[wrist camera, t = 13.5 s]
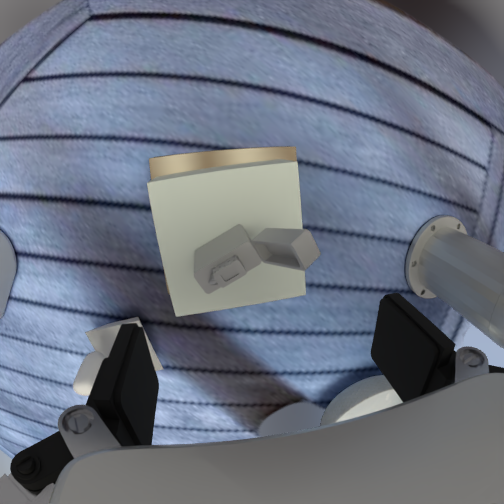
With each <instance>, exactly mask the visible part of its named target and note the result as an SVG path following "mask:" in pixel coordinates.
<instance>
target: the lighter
mask: <svg viewBox="0 0 504 504" xmlns="http://www.w3.org/2000/svg"><path fill="white" fill-rule="evenodd" d="M320 254H321V253H320V251H319V249H318V247H317V245H316V243H315V241H314V239H313V237H312V235H311V233H310V231H308V230H307V229H287V228H265V229H264V230H263V231H262V232H260V233H259V234H258V235H257V236H256V237H254V238H253V239H252V240H251V239H250V237H249V236H248V234H247V232H246V231H245V229H244V227H243V226H242V225H241V224H238V225H236V226H234V227H233V228H231V229H229V230H228V231H226V232H224V233H223V234H221V235H219V236H218V237H216V238H214V239H213V240H211V241H209V242H208V243H206V244H204V245H203V246H201V247H200V248H198V249H196V250H195V255H194V278H195V279H196V281H197V282H198V283H199V285H200V286H201V288H202V289H203V290H204V292H205V293H207V294H210V293H212V292H214V291H215V290H217V289H219V288H221V287H222V288H224V287H226V286H227V285H229V284H231V283H232V282H234V281H236V280H238V279H239V278H241V277H243V276H244V275H246V273H247V272H248V271H250V270H251V269H253V268H255V267H256V266H258V265H260V264H261V261H263V262H264V263H266V264H271V265H276V266H281V267H286V268H291V269H296V270H301V271H305V270H306V269H307V268H308V267H309V266H310V265H311V264H312V263H313V262H314V261H315V260H316V259H317V258H318V257H319V256H320Z"/></svg>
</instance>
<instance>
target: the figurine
mask: <svg viewBox="0 0 504 504" xmlns="http://www.w3.org/2000/svg"><path fill="white" fill-rule="evenodd" d="M127 323H137V325H138V327H143V326H142V324H141V322H140V320H139V317H135V318H131V319H126V320H122V321H118V322H113V323H109V324H106V325H103V326H101V327H98V328H95V329H93V330H90V331H88V332H85V333H86V335H87V337H88V338H89V340H90V342H91V344H92V346H93V347H94V349H95V351H94V352H91V353H89V354H88V355H87V356H86V357H85V359H84V360H83V362H82V364H81V366H80V369H79V371H78V373H77V376H76V378H75V380H74V383H73V388H74V391H75V392H76V393H78V394H79V395H84V396H87V395H90V392H91V389H92V387H93V384H94V381H95V379H96V376H97V374H98V371H99V368H100V366H101V363H102V361H103V359H104V358H108V356H109V354H110V351H111V349H112V346H113V344H114V341H115V339H116V336H117V334H118V332H119V329H120V327H121V325H122V324H127ZM143 330H144V328H143ZM144 333H145V337H146V341H147V344H148V348H149V351H150V355H151V358H152V362H153V365H154V368H155V371H157V370H162V369H163V367H162V365H161V363H160V361H159V359H158V357H157V355H156V353H155V351H154V349H153V347H152V345H151V343H150V341H149V339H148V337H147V335H146V332H145V330H144Z"/></svg>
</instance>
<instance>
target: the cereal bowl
mask: <svg viewBox="0 0 504 504" xmlns="http://www.w3.org/2000/svg"><path fill="white" fill-rule="evenodd" d="M400 403H403V402H402V400H401V399H400V397H399V396H398V394H397V393H396V392H395V390H394V389H393V387H392V386H391V384H390V383H389V382H388V380H387V379H386V377H385V376H384V375H379V376H378V375H377V376H373V377H369V378H366V379H363V380H361V381H358V382H356V383H354V384H353V385H351V386H349V387H348V388H346V389H345V390H343V391H342V392H341V393H339V394H338V395H337V396H336V397H335V398H334V399H333V400H332V401H331V402H330V404H329V405H328V406H327V408H326V410H325V412H324V414H323V416H322V419H321V423H320V424H321V425H320V426H324V425H328V424H332V423H336V422H340V421H344V420H348V419H352V418H355V417H359V416H362V415H366V414H369V413H373V412H376V411H379V410H382V409H386V408H389V407H392V406H395V405H398V404H400Z"/></svg>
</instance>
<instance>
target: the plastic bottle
mask: <svg viewBox="0 0 504 504" xmlns="http://www.w3.org/2000/svg"><path fill="white" fill-rule="evenodd" d="M16 268H17V264H16V256H15V252H14V249H13V246H12V244H11V242H10V241H9V239H8V238H7V236H6V235H5V234H4V233H3V232H2V231H1V230H0V319H1V318H2V316H3V314H4V311H5V308H6V304H7V300H8V297H9V294H10V290H11V287H12V284H13V281H14V278H15V274H16Z"/></svg>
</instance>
